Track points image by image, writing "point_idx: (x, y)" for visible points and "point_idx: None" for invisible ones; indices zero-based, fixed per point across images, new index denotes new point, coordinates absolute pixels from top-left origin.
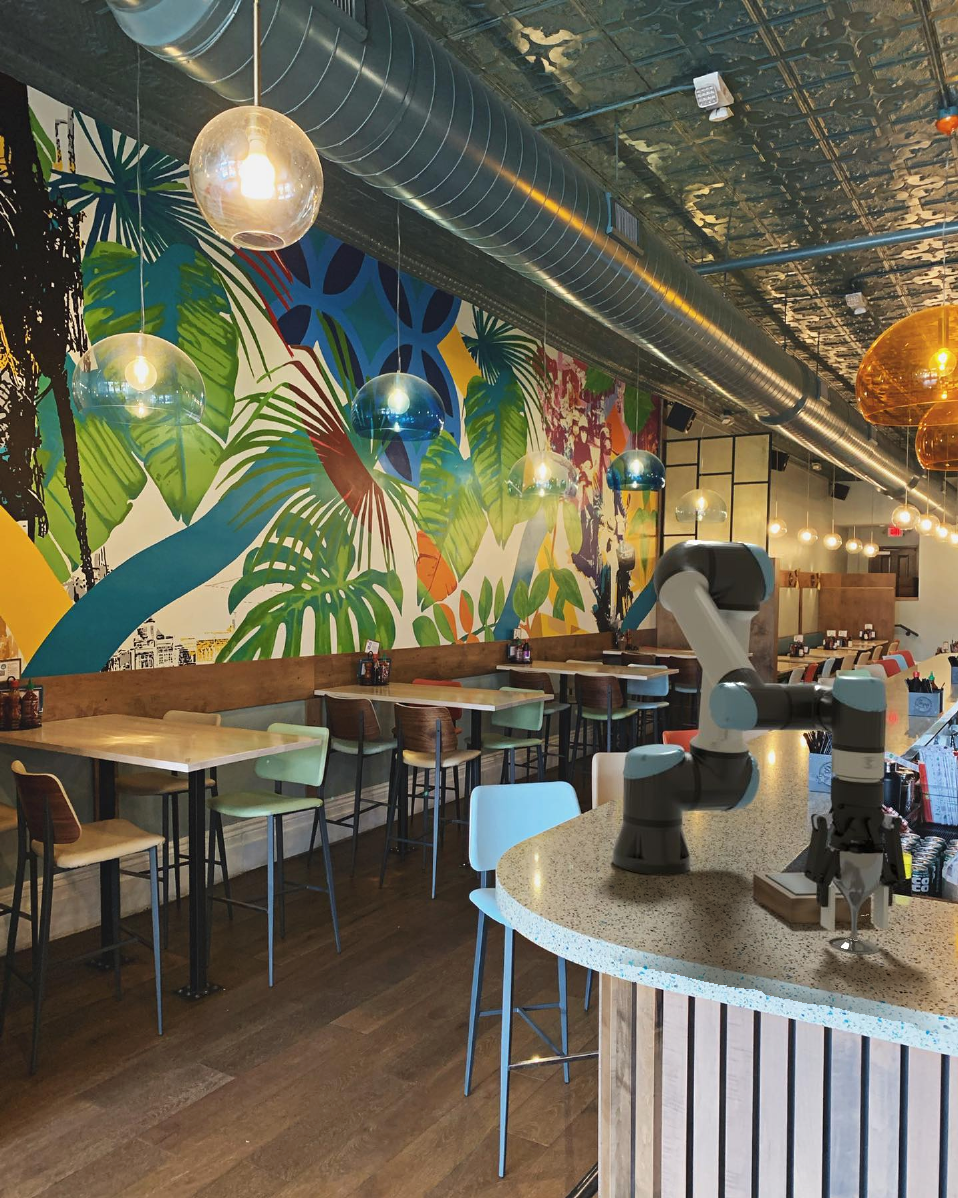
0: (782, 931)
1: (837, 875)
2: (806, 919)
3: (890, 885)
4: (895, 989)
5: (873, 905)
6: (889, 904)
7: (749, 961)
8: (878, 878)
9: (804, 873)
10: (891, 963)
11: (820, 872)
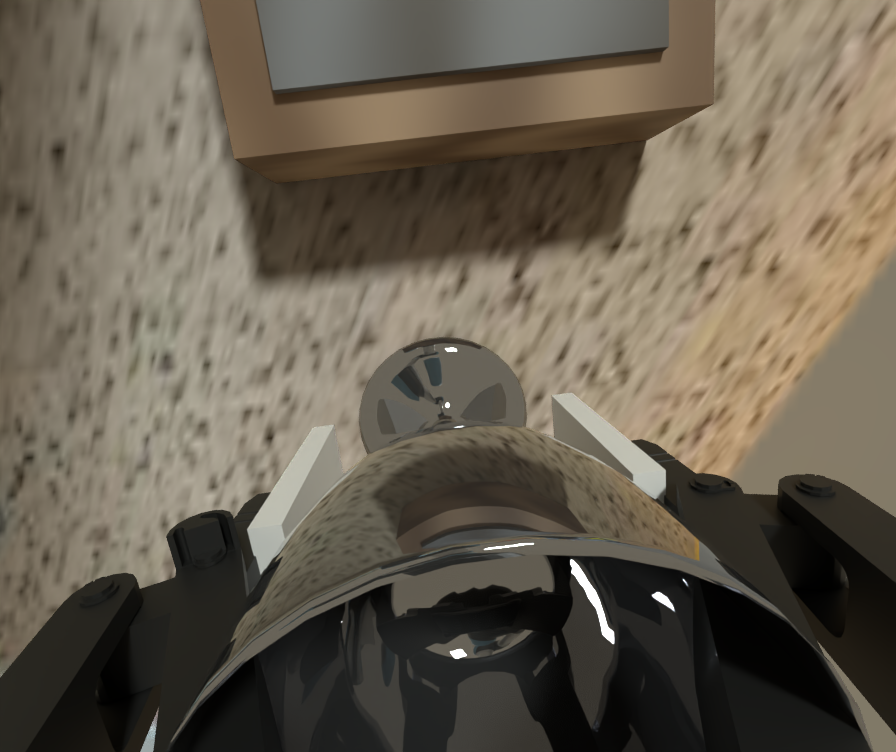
0: (212, 289)
1: (304, 677)
2: (346, 172)
3: None
4: None
5: (577, 424)
6: None
7: (26, 585)
8: (577, 732)
9: (64, 603)
10: None
11: (142, 737)
